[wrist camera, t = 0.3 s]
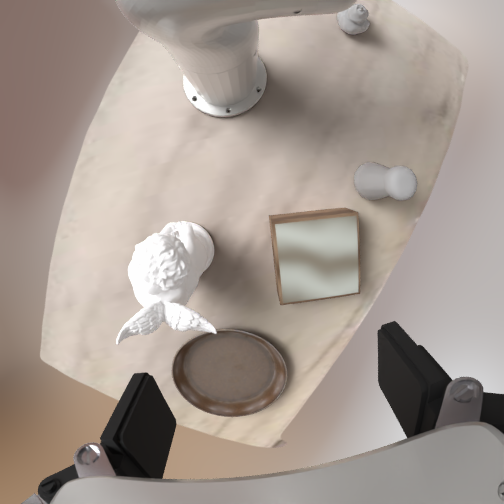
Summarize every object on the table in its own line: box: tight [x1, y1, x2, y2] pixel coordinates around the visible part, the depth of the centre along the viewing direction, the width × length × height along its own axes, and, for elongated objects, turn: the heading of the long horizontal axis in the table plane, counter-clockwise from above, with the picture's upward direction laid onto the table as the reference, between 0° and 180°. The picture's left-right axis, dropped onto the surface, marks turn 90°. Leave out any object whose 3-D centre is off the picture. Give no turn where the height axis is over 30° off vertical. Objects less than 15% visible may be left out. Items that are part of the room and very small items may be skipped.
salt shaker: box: [354, 162, 417, 200], centre depth 37 cm, size 6×6×13 cm
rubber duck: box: [337, 4, 370, 35], centre depth 32 cm, size 5×7×8 cm
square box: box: [269, 208, 360, 305], centre depth 43 cm, size 12×12×6 cm
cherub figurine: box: [116, 221, 217, 345], centre depth 36 cm, size 12×12×22 cm
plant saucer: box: [172, 329, 287, 417], centre depth 50 cm, size 21×21×3 cm
